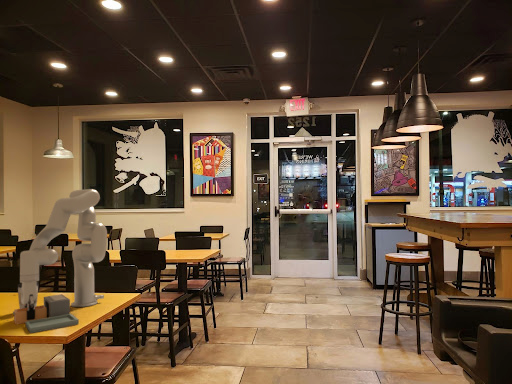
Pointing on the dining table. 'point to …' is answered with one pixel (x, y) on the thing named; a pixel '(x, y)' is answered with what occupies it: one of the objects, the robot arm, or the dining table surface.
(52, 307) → the bay housing
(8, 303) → the dining table surface
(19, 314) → the orange drawer
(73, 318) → the tray
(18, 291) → the coffee cup
